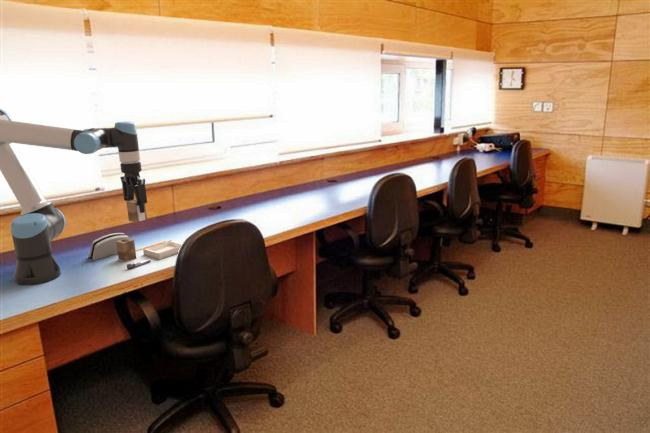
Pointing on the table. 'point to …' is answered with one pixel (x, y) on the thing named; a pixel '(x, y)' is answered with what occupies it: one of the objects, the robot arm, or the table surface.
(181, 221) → the table surface
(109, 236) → the napkin holder
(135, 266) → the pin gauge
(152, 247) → the tray
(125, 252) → the block
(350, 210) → the table surface
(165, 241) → the pencil
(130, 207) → the block
